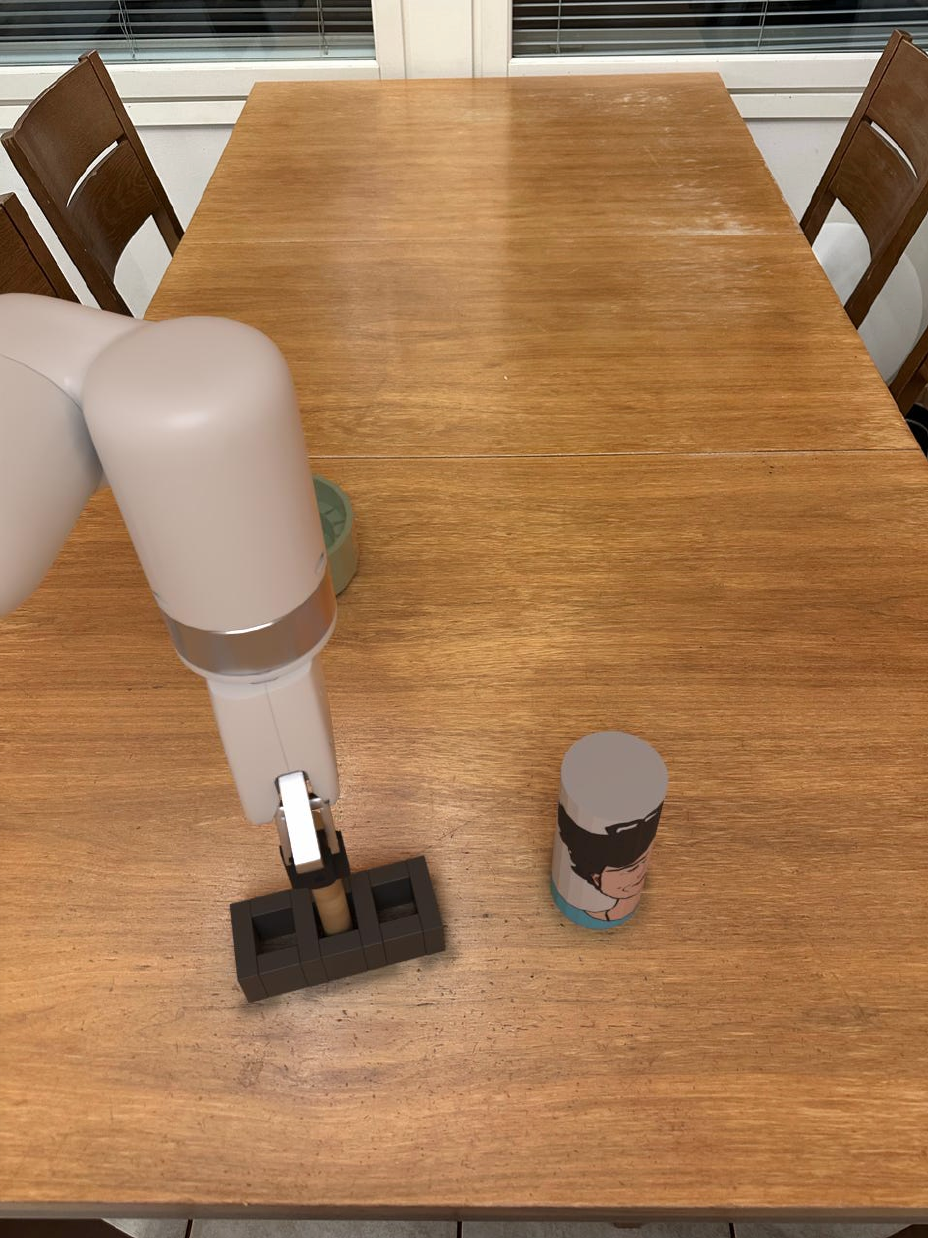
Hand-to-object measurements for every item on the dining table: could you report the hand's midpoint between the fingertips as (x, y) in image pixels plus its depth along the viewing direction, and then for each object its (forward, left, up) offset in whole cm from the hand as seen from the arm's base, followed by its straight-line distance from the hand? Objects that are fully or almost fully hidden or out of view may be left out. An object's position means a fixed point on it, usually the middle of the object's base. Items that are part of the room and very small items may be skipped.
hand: (308, 804), depth 55 cm
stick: (0, 0, -18) cm, 18 cm away
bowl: (+1, +40, -18) cm, 44 cm away
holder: (0, 0, -18) cm, 18 cm away
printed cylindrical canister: (+19, -1, -19) cm, 26 cm away
